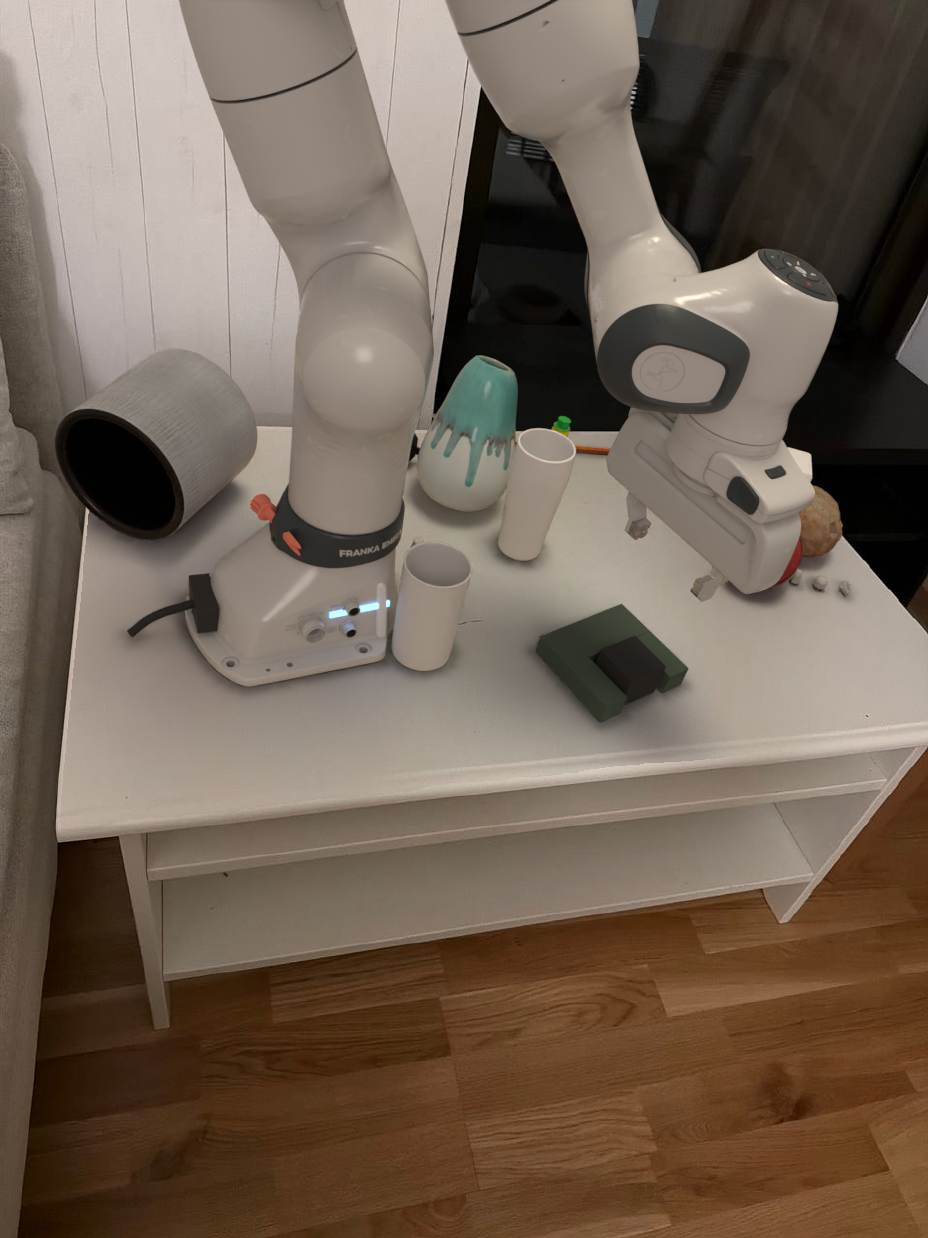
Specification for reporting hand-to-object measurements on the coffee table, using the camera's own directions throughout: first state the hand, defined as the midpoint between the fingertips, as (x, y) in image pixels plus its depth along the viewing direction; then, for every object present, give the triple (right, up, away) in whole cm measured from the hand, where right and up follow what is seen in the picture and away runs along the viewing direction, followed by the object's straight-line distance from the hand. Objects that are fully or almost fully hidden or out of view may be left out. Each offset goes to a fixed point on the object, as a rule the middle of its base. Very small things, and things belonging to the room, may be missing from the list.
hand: (666, 564), depth 94 cm
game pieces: (+25, -1, +29) cm, 38 cm away
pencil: (-1, +19, +42) cm, 46 cm away
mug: (-25, -8, +10) cm, 28 cm away
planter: (-50, +19, +19) cm, 56 cm away
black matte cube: (-3, -12, +10) cm, 16 cm away
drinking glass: (-13, +3, +24) cm, 27 cm away
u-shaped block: (-4, -11, +12) cm, 16 cm away
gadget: (+16, +1, +29) cm, 33 cm away
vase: (-21, +9, +28) cm, 36 cm away
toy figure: (-10, +10, +32) cm, 35 cm away
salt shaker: (+28, +18, +46) cm, 57 cm away
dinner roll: (+22, +8, +27) cm, 36 cm away
